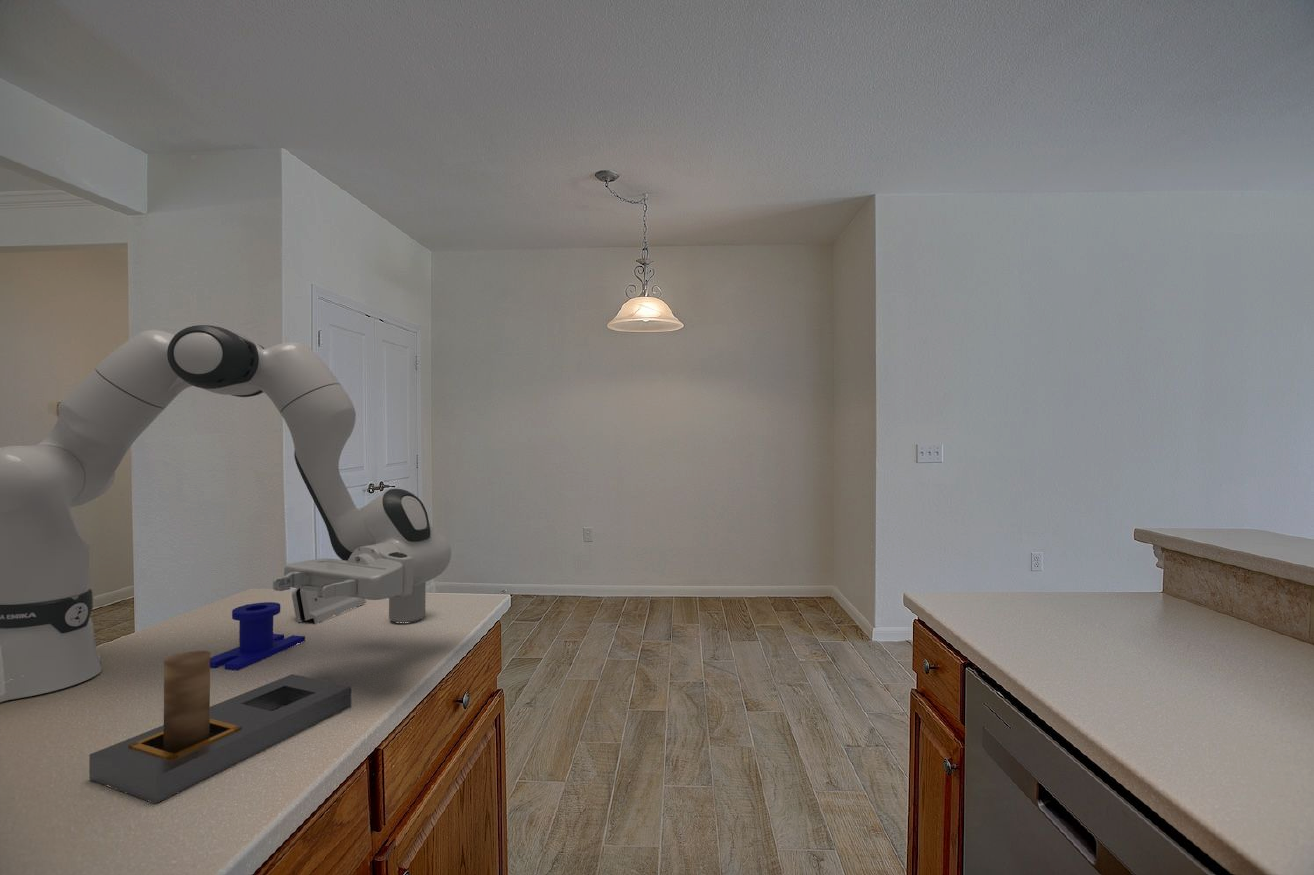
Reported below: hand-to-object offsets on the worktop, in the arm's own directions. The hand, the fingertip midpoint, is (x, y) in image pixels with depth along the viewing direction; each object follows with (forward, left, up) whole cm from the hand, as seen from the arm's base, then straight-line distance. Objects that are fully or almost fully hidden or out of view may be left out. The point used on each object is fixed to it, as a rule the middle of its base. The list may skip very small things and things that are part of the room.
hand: (298, 588), depth 88 cm
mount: (-22, +22, -18) cm, 36 cm away
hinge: (-23, +48, -18) cm, 57 cm away
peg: (-5, -14, -18) cm, 23 cm away
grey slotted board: (-3, -9, -18) cm, 20 cm away
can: (-3, +43, -18) cm, 47 cm away
